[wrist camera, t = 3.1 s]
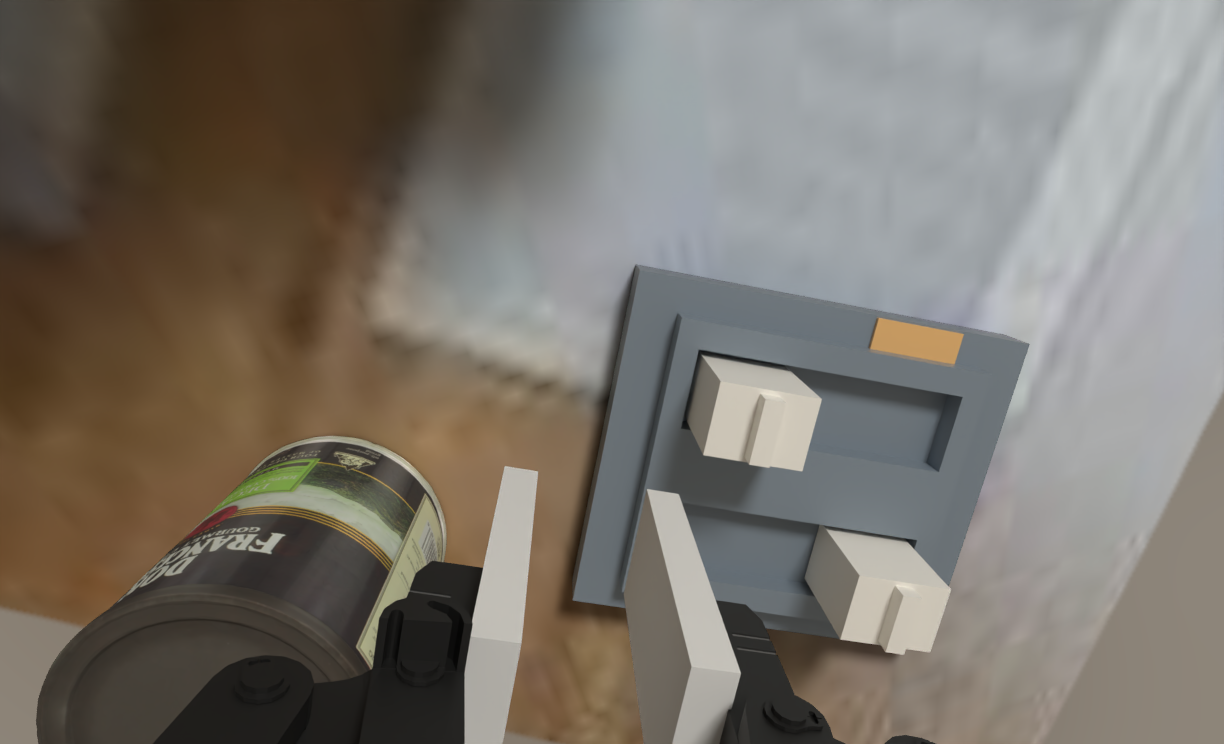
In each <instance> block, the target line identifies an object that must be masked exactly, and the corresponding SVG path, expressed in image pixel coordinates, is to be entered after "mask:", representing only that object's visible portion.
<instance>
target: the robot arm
mask: <svg viewBox="0 0 1224 744" xmlns="http://www.w3.org/2000/svg"><path fill="white" fill-rule="evenodd" d="M537 477H538V471H532V470H525V469H519V468H513V467H507V466H505V468H504V473H503V477H502V482H501V487H500V491H499V496H498V501H497V506H496V510H495V515H494V520H493V525H492V529H491V534H490V539H489V543H488V548H487V553H486V558H485V562H484V567H483V568H479V567H473V566H466V565H459V564H452V563H445V562H438V561H431V562H430V563H428V564H427V565H426V566H424V567H423V568H422V569H420V570H419V571H418V572H416V574H415V577H414V579H413V582H412V584H411V587H410V591H409V592H408V595H407V598H404V599H400V600H397V601H395V602H393V603H392V604H390V605H389V606H387V607H386V608H384V610H383V612H382V614H381V616H380V617H379V623H378V630H377V637H376V645H375V652H374V659H373V667H372V669H371V670H369V671H367V672H365V673H364V674H362V675H359V676H356V677H353V678H350V679H345V680H339V681H333V682H322V683H314V680H313V677H312V674H311V671H310V670H309V669H308V668H307V667H305V666H304V665H303V664H302V663H301V662H299V661H296V660H293V659H290V658H288V657H285V656H272V655H263V656H256V657H249V658H245V659H242V660H240V661H237V662H234V663H232V664H229V665H227V666H226V667H225V668H223V669H222V670H221V671H219V672H218V673H217V674H216V675H214V676H213V677H212V678H211V680H210V681H209V682H208V683H207V684H206V685H205V686H204V687H203V688H202V690H201V691H200V692H199V693H198V694H197V695H196V696H195V697H194V698H193V699H192V701H191V702H190V703H189V704H188V705H187V706H186V707H185V708H184V709H183V711H182V712H181V713H180V714H179V715H178V716H177V717H176V718H175V719H174V721H173V722H172V723H171V724H170V725H169V726H168V727H167V728H166V729H165V731H164V732H163V733H162V734H161V735H160V736H159V737H158V738H157V739H156V740H155V742H154V743H153V744H502V743H503V738H504V733H505V728H506V722H507V717H508V712H509V706H510V701H511V696H512V691H513V685H514V680H515V675H516V669H517V664H518V659H519V653H520V648H521V642H522V632H523V621H524V611H525V601H526V591H527V580H528V570H529V560H530V549H531V539H532V529H533V518H534V508H535V498H536V487H537ZM624 600H625V607H626V614H627V622H628V629H629V637H630V644H631V652H632V659H633V666H634V674H635V681H636V689H637V696H638V704H639V711H640V718H641V726H642V733H643V741H644V744H845V743H843V742H841V741H838V740H836V739H834V738H833V736H832V733H831V729H830V727H829V725H828V723H827V721H826V719H825V718H824V716H823V715H822V714H821V713H820V712H819V711H818V710H817V709H816V708H815V707H814V706H813V705H811V704H810V703H808V702H806V701H805V700H803V699H801V698H799V697H798V696H795V695H794V692H793V690H792V688H791V685H790V683H789V681H788V679H787V676H786V674H785V672H784V669H783V667H782V665H781V663H780V660H779V658H778V656H777V655H776V651H775V649H774V646H773V644H772V642H771V641H770V637H769V635H768V633H767V630H766V628H765V626H764V623H763V621H762V620H761V619H760V618H759V617H758V616H757V615H756V614H755V613H754V612H753V611H752V610H751V609H750V608H749V607H748V606H747V605H746V604H739V603H732V602H726V601H719V600H715V597H714V594H713V591H712V588H711V585H710V583H709V580H708V577H707V574H706V571H705V568H704V565H703V562H702V560H701V557H700V554H699V551H698V548H697V545H696V542H695V539H694V537H693V534H692V531H691V528H690V525H689V522H688V519H687V516H686V513H685V511H684V508H683V505H682V502H681V499H680V496H679V494H675V493H669V492H663V491H656V490H650V489H647V490H646V495H645V500H644V504H643V509H642V513H641V518H640V522H639V527H638V531H637V536H636V540H635V545H634V549H633V554H632V558H631V563H630V567H629V572H628V576H627V581H626V585H625V590H624ZM885 744H935V743H933V742H930V741H928V740H925V739H922V738H918V737H913V736H907V735H903V736H895V737H892V738H891V739H889V740H888V741H887V742H886V743H885Z"/></svg>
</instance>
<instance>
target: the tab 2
mask: <svg viewBox="0 0 1224 744" xmlns="http://www.w3.org/2000/svg"><path fill="white" fill-rule="evenodd" d="M805 580H806V582H807V583H808V585H809V587H810V589H811V590H812V592H813V594H814V595H815V597H816V599H817V601H818V602H819V604H820V606H821V607H822V609H823V611H824V612H825V614H826V616H827V618H828V619H829V621H830V623H831V624H832V626H833V628H834V630H835V631H836V633H837V635H838V636H839V638H840V640H847V641H854V642H861V643H868V644H875V645H881V646H882V648H883V649H884V651H885V652H888V653H895V654H902V655H904V653H905V650H906V649H910V650H917V651H924V652H930V651H931V648H932V645H933V642H934V639H935V637H936V634H937V631H938V628H939V625H940V622H941V619H942V616H943V613H944V610H945V607H946V604H947V601H948V598H949V595H950V592H951V589H950V588H949V587H948V585H947V584H946V583H945V582H944V581H943V580H942V579H941V578H940V577H939V576H938V575H937V574H936V572H935V571H934V570H933V569H932V568H931V567H930V566H929V565H928V564H927V563H926V562H925V561H924V559H923V558H922V557H921V556H920V555H919V554H918V553H917V552H916V551H915V550H914V549H913V547H912V546H911V545H910V544H909V543H908V542H907V541H906V540H905V539H904V538H901V537H894V536H888V535H882V534H876V533H869V532H863V531H857V530H850V529H844V528H838V527H832V526H825V525H819V528H818V532H817V535H816V539H815V543H814V546H813V550H812V553H811V557H810V560H809V564H808V567H807V571H806V574H805Z"/></svg>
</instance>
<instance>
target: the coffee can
mask: <svg viewBox="0 0 1224 744" xmlns="http://www.w3.org/2000/svg"><path fill="white" fill-rule="evenodd" d="M445 552H446V525H445V520H444V515H443V512H442V509H441V506H440V504H439V501H438V499H437V497H436V495H435V493H434V491H433V489H432V487H431V486H430V485H429V483H428V482H427V481H426V480H425V479H424V478H423V476H422V475H421V474H420V473H419V472H418V471H417V470H416V469H415V468H414V467H413V466H412V465H411V464H410V463H408V462H407V461H406V460H405V459H403V458H402V457H400V456H399V455H397V454H395V453H394V452H392V451H390V450H388V449H387V448H385V447H382V446H380V445H377V444H375V443H372V442H369V441H366V440H363V439H358V438H352V437H343V436H322V437H314V438H309V439H304V440H301V441H298V442H294V443H292V444H289V445H286V446H284V447H282V448H280V449H278V450H277V451H275V452H273V453H272V454H270V455H269V456H268V457H266V458H265V459H264V460H263V461H262V462H260V463H259V464H258V465H257V466H256V467H255V468H254V469H253V471H252V472H251V473H250V474H249V476H248V477H247V478H246V479H245V480H244V481H243V482H242V483H241V484H240V485H239V486H238V487H237V488H236V489H235V490H234V491H233V492H232V493H230V494H229V495H228V496H227V498H226V499H224V500H223V501H222V502H221V503H220V504H219V505H218V506H217V507H216V508H215V509H214V510H213V511H212V512H211V513H210V514H209V515H208V516H207V517H206V518H204V519H203V520H202V521H201V522H200V523H199V524H198V525H197V526H196V527H195V528H194V529H193V530H192V531H191V532H190V533H189V534H188V535H187V536H186V537H185V538H184V539H183V540H182V541H180V542H179V543H178V544H177V545H176V546H175V547H174V548H173V549H172V550H171V551H169V552H168V553H167V554H166V556H164V557H163V558H162V559H161V560H160V561H159V562H158V563H157V564H156V565H155V566H154V567H153V568H152V569H151V570H149V571H148V572H147V573H146V574H145V575H144V576H143V577H142V578H141V579H140V580H139V581H138V582H137V583H136V584H135V585H134V586H133V587H132V588H131V589H130V590H129V591H128V592H127V593H126V594H125V595H124V596H122V597H121V598H120V599H119V600H118V601H117V602H116V603H115V604H114V605H113V606H112V607H111V608H110V609H109V610H107V611H106V612H104V613H103V614H101V615H100V616H98V617H97V618H96V619H94V620H93V621H92V622H91V623H89V624H88V625H87V626H86V627H85V628H83V629H82V630H81V631H80V632H79V633H78V634H77V635H76V636H75V637H74V638H73V639H72V640H71V641H70V642H69V643H68V644H67V645H66V646H65V648H64V649H63V650H62V651H61V652H60V653H59V655H58V656H57V658H56V659H55V661H54V662H53V664H52V666H51V668H50V670H49V672H48V674H47V676H46V679H45V681H44V684H43V686H42V689H41V692H40V695H39V698H38V707H37V719H36V725H37V737H38V743H39V744H153V743H154V742H155V740H156V739H157V738H158V737H159V736H160V735H161V734H162V733H163V732H164V731H165V729H166V728H167V727H168V726H169V725H170V724H171V723H172V722H173V721H174V719H175V718H176V717H177V716H178V715H179V714H180V713H181V712H182V711H183V709H184V708H185V707H186V706H187V705H188V704H189V703H190V702H191V701H192V699H193V698H194V697H195V696H196V695H197V694H198V693H199V692H200V691H201V690H202V688H203V687H204V686H205V685H206V684H207V683H208V682H209V681H210V680H211V678H212V677H213V676H214V675H216V674H217V673H218V672H219V671H221V670H222V669H223V668H225V667H226V666H227V665H229V664H232V663H234V662H237V661H240V660H242V659H245V658H249V657H256V656H263V655H272V656H285V657H288V658H290V659H293V660H296V661H299V662H301V663H302V664H303V665H304V666H305V667H307V668H308V669H309V670H310V671H311V674H312V677H313V680H314V683H322V682H333V681H339V680H345V679H350V678H353V677H356V676H359V675H362V674H364V673H365V672H367V671H369V670H371V669H372V667H373V659H374V652H375V645H376V637H377V630H378V623H379V617H380V616H381V614H382V612H383V610H384V608H386V607H387V606H389V605H390V604H392V603H393V602H395V601H397V600H400V599H404V598H407V595H408V592H409V591H410V587H411V584H412V582H413V579H414V577H415V574H416V572H418V571H419V570H420V569H422V568H423V567H424V566H426V565H427V564H428V563H430V562H431V561H438V562H444V557H445Z"/></svg>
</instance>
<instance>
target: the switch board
mask: <svg viewBox="0 0 1224 744" xmlns="http://www.w3.org/2000/svg"><path fill="white" fill-rule="evenodd" d="M1028 347H1029V344H1028V343H1025V342H1023V341H1020V340H1017V339H1015V338H1012V337H1009V336H1007V335H1003V334H997V333H992V332H987V331H982V330H976V329H971V328H966V327H961V326H955V325H950V324H945V323H940V322H935V321H929V320H924V319H919V318H914V317H908V316H903V315H898V314H893V313H887V312H882V311H877V310H872V309H866V308H861V307H856V306H851V305H845V304H840V303H835V302H830V301H824V300H819V299H814V298H809V297H803V296H798V295H793V294H788V293H782V292H777V291H772V290H767V289H761V288H756V287H751V286H746V285H740V284H735V283H730V282H725V281H719V280H714V279H709V278H704V277H698V276H693V275H688V274H683V273H677V272H672V271H667V270H662V269H656V268H651V267H646V266H641V265H636V267H635V272H634V277H633V281H632V286H631V291H630V296H629V301H628V306H627V311H626V316H625V321H624V326H623V331H622V336H621V341H620V346H619V351H618V356H617V361H616V366H615V371H614V376H613V380H612V385H611V390H610V395H609V400H608V405H607V410H606V415H605V420H604V425H603V430H602V435H601V440H600V445H599V450H598V455H597V460H596V465H595V470H594V475H593V479H592V484H591V489H590V494H589V499H588V504H587V509H586V514H585V519H584V524H583V529H582V534H581V539H580V544H579V549H578V554H577V559H576V564H575V569H574V574H573V578H572V587H573V601H580V602H587V603H594V604H601V605H608V606H615V607H621V608H626V607H625V600H624V590H625V585H626V581H627V576H628V572H629V567H630V563H631V558H632V554H633V549H634V545H635V540H636V536H637V531H638V527H639V522H640V518H641V513H642V509H643V504H644V500H645V495H646V490H647V489H650V490H656V491H663V492H669V493H675V494H679V496H680V499H681V502H682V505H683V508H684V511H685V513H686V516H687V519H688V522H689V525H690V528H691V531H692V534H693V537H694V539H695V542H696V545H697V548H698V551H699V554H700V557H701V560H702V562H703V565H704V568H705V571H706V574H707V577H708V580H709V583H710V585H711V588H712V591H713V594H714V597H715V600H719V601H726V602H732V603H739V604H746V605H747V606H748V607H749V608H750V609H751V610H752V611H753V612H754V613H755V614H756V615H757V616H758V617H759V618H760V619H761V620H762V621H763V623H764V626H765V628H768V629H775V630H782V631H789V632H796V633H803V634H810V635H817V636H824V637H831V638H838V639H840V638H839V636H838V635H837V633H836V631H835V630H834V628H833V626H832V624H831V623H830V621H829V619H828V618H827V616H826V614H825V612H824V611H823V609H822V607H821V606H820V604H819V602H818V601H817V599H816V597H815V595H814V594H813V592H812V590H811V589H810V587H809V585H808V583H807V582H806V580H805V574H806V571H807V567H808V564H809V560H810V557H811V553H812V550H813V546H814V543H815V539H816V535H817V532H818V528H819V525H825V526H832V527H838V528H844V529H850V530H857V531H863V532H869V533H876V534H882V535H888V536H894V537H901V538H904V539H905V540H906V541H907V542H908V543H909V544H910V545H911V546H912V547H913V549H914V550H915V551H916V552H917V553H918V554H919V555H920V556H921V557H922V558H923V559H924V561H925V562H926V563H927V564H928V565H929V566H930V567H931V568H932V569H933V570H934V571H935V572H936V574H937V575H938V576H939V577H940V578H941V579H942V580H943V581H944V582H945V583H946V584H947V585H948V587H949V584H950V581H951V578H952V575H953V572H954V569H955V566H956V563H957V560H958V557H959V554H960V551H961V548H962V545H963V542H964V539H965V536H966V533H967V530H968V527H969V524H970V521H971V518H972V515H973V512H974V509H975V506H976V503H977V500H978V497H979V494H980V491H981V488H982V485H983V482H984V479H985V476H986V473H987V470H988V467H989V464H990V461H991V458H992V455H993V452H994V449H995V446H996V443H997V440H998V437H999V434H1000V431H1001V428H1002V425H1003V422H1004V419H1005V416H1006V413H1007V410H1008V407H1009V404H1010V401H1011V398H1012V395H1013V392H1014V389H1015V386H1016V383H1017V380H1018V377H1019V374H1020V371H1021V368H1022V365H1023V362H1024V359H1025V356H1026V353H1027V350H1028ZM699 351H700V352H706V353H711V354H717V355H722V356H728V357H733V358H739V359H744V360H750V361H756V362H761V363H767V364H772V365H778V366H783V367H786V368H788V369H789V370H790V371H791V372H792V373H793V374H794V375H795V376H797V377H798V378H799V379H800V380H801V381H802V382H803V383H804V384H806V385H807V386H808V387H809V388H810V389H811V390H812V391H813V392H815V393H816V394H817V395H818V396H819V397H820V398H821V399H822V401H821V405H820V408H819V412H818V416H817V419H816V423H815V427H814V430H813V434H812V438H811V441H810V445H809V449H808V452H807V456H806V460H805V463H804V467H803V471H796V470H790V469H784V468H778V467H772V466H770V468H767V467H761V466H754V465H749V464H748V462H742V461H736V460H730V459H723V458H717V457H711V456H705V455H703V454H702V452H701V449H700V447H699V445H698V443H697V441H696V439H695V437H694V435H693V433H692V431H691V429H690V427H689V425H688V422H687V420H686V418H685V416H684V414H685V409H686V405H687V400H688V396H689V392H690V387H691V383H692V379H693V374H694V370H695V365H696V361H697V357H698V352H699Z"/></svg>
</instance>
